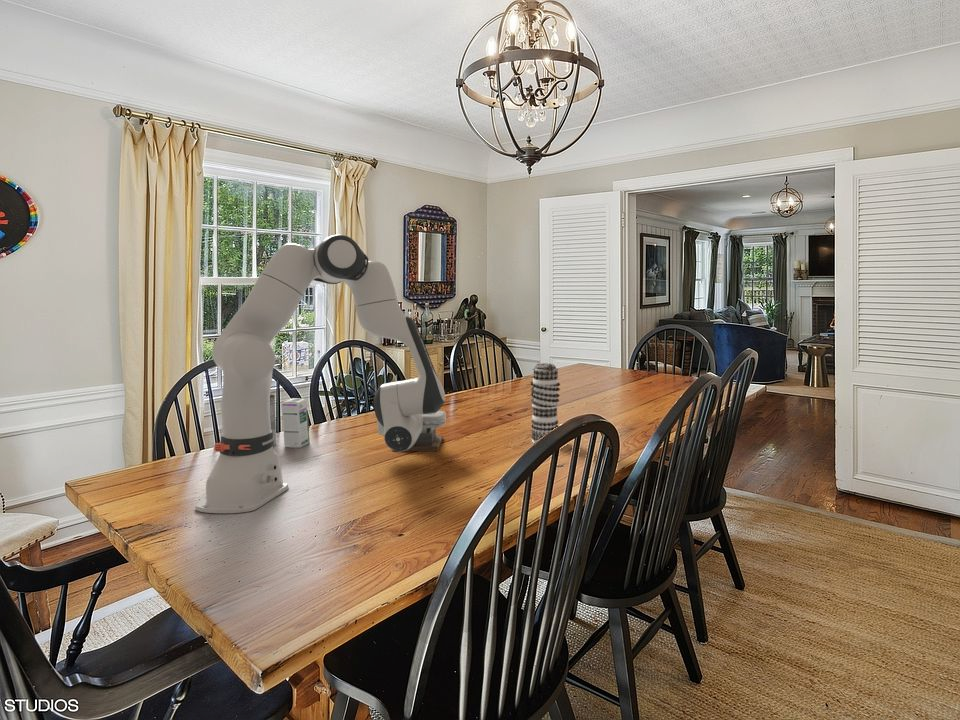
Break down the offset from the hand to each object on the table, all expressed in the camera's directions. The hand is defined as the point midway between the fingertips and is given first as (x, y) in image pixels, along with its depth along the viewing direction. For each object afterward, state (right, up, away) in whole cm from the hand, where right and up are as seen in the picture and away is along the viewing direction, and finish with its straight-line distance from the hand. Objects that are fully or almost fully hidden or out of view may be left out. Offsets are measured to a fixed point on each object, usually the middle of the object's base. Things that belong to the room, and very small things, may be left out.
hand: (414, 412), depth 175 cm
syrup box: (-38, -11, +5) cm, 39 cm away
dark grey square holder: (0, -11, +5) cm, 12 cm away
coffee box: (-50, -11, +5) cm, 51 cm away
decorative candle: (+41, -10, +8) cm, 42 cm away
